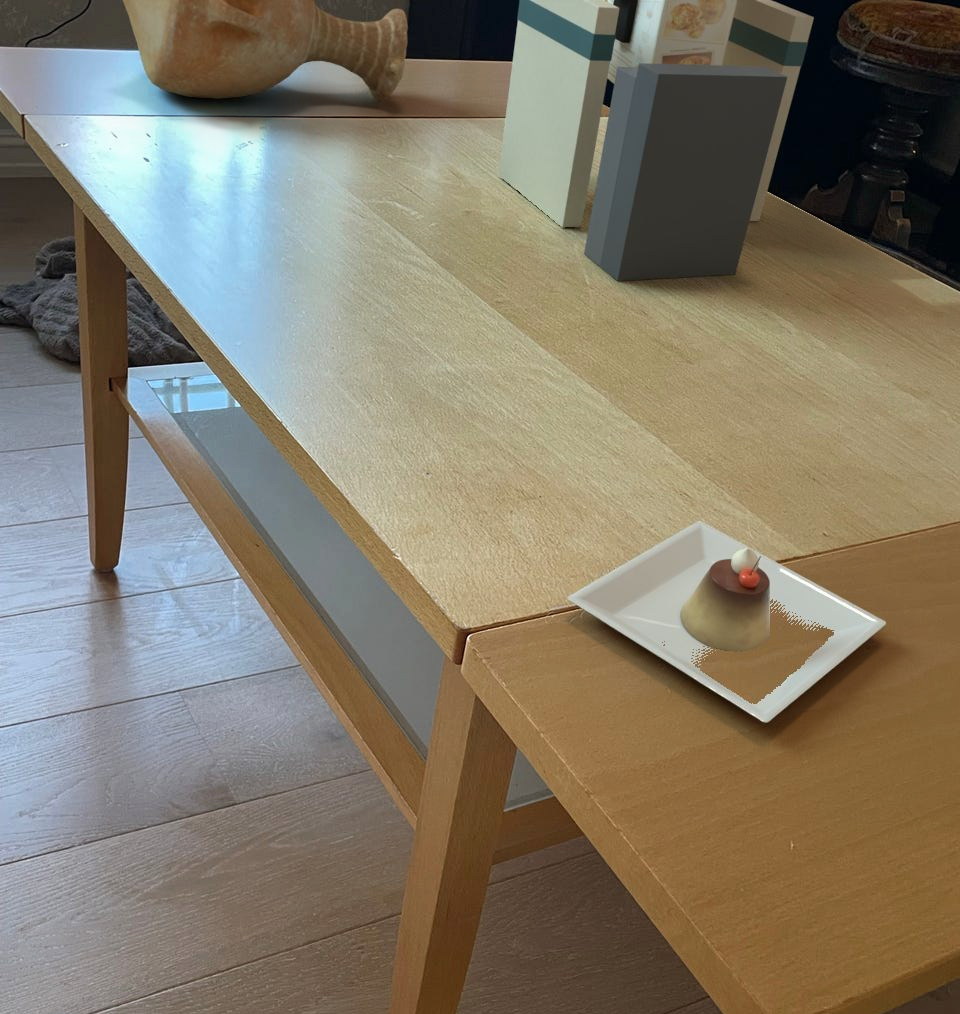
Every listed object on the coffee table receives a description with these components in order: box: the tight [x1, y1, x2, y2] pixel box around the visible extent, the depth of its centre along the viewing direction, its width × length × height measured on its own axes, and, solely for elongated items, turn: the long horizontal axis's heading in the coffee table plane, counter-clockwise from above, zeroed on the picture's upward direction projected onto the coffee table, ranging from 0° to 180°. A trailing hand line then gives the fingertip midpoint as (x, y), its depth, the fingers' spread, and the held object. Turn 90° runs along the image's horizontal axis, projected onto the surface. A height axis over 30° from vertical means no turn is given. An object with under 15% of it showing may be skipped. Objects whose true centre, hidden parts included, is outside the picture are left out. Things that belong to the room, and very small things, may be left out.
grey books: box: [583, 63, 787, 282], centre depth 96 cm, size 12×6×16 cm, turn 114°
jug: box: [122, 0, 409, 103], centre depth 121 cm, size 20×19×30 cm
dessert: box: [567, 520, 887, 724], centre depth 58 cm, size 12×12×5 cm
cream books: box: [497, 0, 815, 229], centre depth 108 cm, size 22×14×18 cm, turn 114°
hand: (658, 40), depth 105 cm, fingers closed on coffeecake box, 8 cm apart
